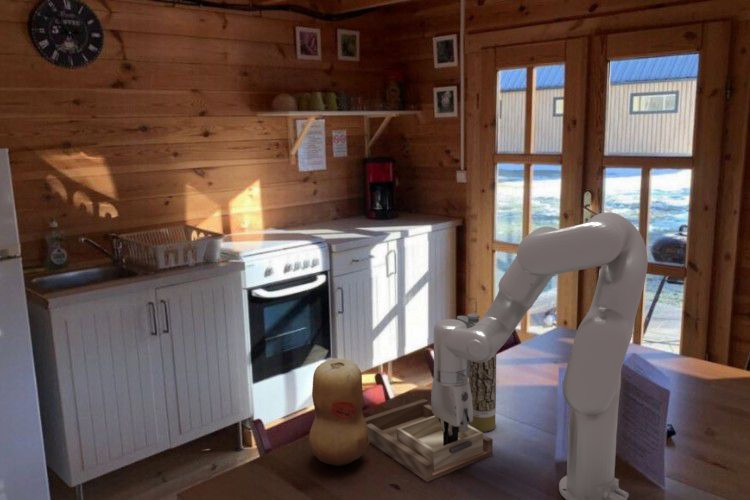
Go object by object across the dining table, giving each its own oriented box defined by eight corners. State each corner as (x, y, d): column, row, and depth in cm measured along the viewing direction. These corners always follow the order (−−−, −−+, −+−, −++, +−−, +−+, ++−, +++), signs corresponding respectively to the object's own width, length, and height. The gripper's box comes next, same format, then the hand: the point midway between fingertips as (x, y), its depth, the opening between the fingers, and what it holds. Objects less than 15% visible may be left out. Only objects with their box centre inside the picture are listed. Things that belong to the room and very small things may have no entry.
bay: (492, 454, 157) (492, 435, 156) (427, 482, 146) (426, 461, 145) (424, 415, 178) (424, 398, 177) (362, 437, 167) (362, 419, 166)
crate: (485, 453, 155) (486, 434, 154) (436, 474, 147) (436, 453, 146) (444, 430, 167) (444, 411, 166) (396, 447, 159) (396, 428, 158)
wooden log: (495, 433, 167) (496, 340, 162) (468, 431, 168) (468, 339, 163) (495, 421, 173) (496, 331, 168) (469, 420, 175) (470, 330, 170)
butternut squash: (316, 481, 147) (311, 376, 142) (306, 453, 160) (301, 355, 155) (375, 471, 150) (373, 368, 145) (361, 444, 163) (358, 348, 158)
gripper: (485, 380, 146) (484, 455, 149) (442, 360, 158) (442, 431, 162) (459, 388, 142) (459, 466, 145) (417, 367, 154) (418, 440, 157)
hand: (450, 447), depth 153 cm, fingers closed
